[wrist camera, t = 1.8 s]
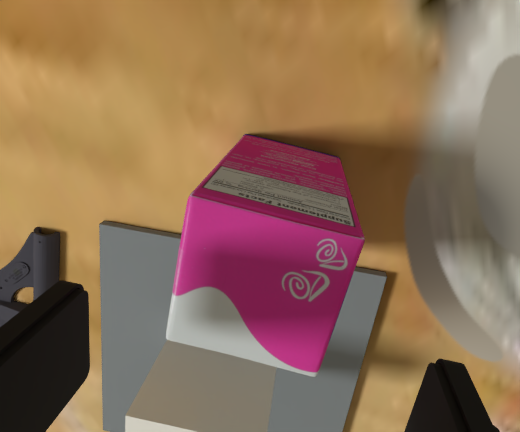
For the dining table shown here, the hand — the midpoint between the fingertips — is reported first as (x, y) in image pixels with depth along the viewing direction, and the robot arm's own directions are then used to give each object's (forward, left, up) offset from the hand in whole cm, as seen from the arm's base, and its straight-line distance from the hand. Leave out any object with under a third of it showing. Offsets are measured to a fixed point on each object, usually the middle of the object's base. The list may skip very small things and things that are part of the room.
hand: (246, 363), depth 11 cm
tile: (+11, -2, -13) cm, 17 cm away
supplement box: (0, 0, -14) cm, 14 cm away
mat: (+13, -2, -14) cm, 19 cm away
